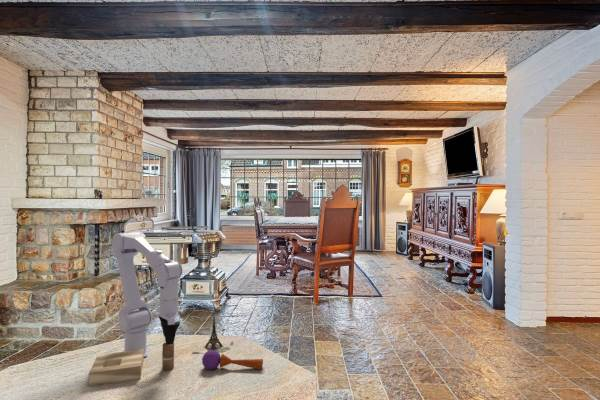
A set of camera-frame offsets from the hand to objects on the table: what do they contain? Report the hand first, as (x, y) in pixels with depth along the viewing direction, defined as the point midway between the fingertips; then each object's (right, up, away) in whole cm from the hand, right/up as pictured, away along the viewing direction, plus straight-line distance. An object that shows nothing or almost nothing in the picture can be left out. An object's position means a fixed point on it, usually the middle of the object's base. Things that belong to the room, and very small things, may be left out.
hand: (168, 339), depth 116 cm
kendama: (+21, -10, +1) cm, 23 cm away
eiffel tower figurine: (+11, -10, +17) cm, 22 cm away
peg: (0, -9, 0) cm, 9 cm away
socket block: (-15, -9, -3) cm, 18 cm away
